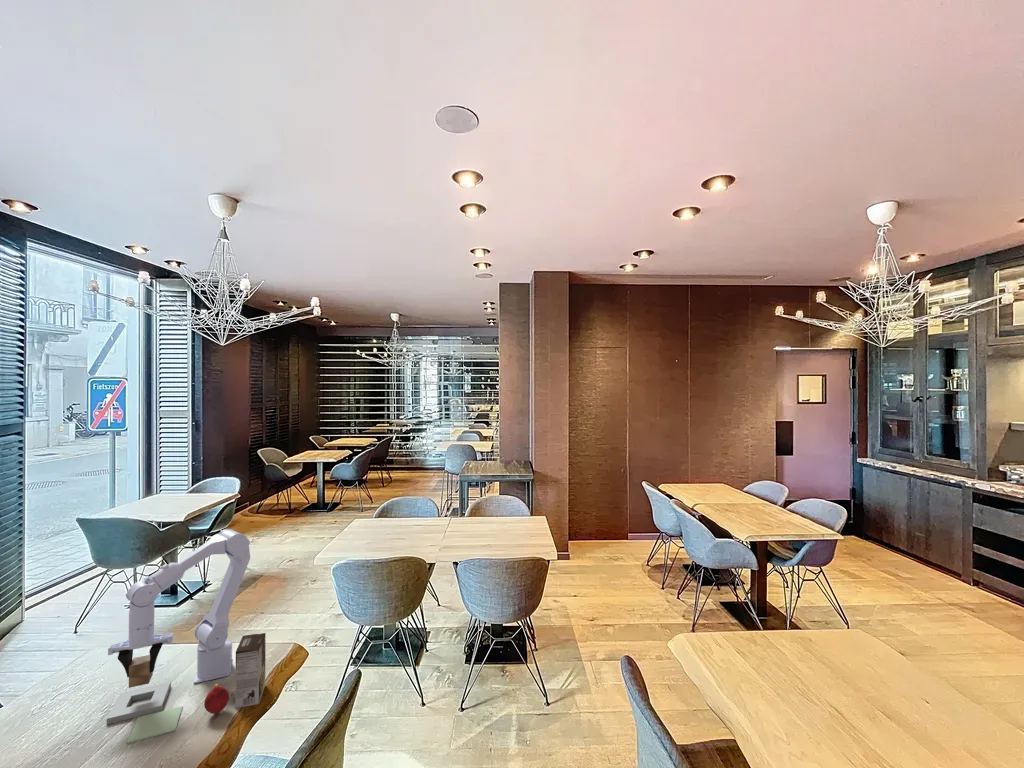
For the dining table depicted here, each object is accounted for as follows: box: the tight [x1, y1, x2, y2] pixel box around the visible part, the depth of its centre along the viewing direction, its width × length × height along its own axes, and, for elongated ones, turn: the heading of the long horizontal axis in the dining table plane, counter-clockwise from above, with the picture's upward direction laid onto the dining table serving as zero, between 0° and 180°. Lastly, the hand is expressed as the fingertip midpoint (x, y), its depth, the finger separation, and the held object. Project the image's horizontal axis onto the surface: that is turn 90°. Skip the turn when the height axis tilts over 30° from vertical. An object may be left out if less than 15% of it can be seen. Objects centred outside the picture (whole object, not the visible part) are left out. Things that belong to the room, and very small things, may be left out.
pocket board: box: [106, 681, 172, 725], centre depth 132 cm, size 12×12×2 cm
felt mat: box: [126, 706, 183, 744], centre depth 124 cm, size 10×10×1 cm
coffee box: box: [234, 632, 267, 709], centre depth 136 cm, size 9×6×16 cm
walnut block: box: [128, 654, 154, 689], centre depth 132 cm, size 4×4×6 cm
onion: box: [203, 683, 230, 715], centre depth 129 cm, size 6×6×8 cm
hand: (141, 672), depth 133 cm, fingers closed on walnut block, 4 cm apart
